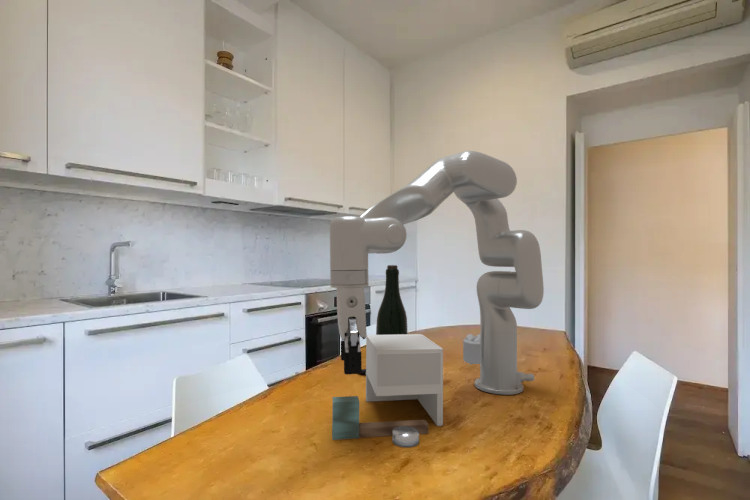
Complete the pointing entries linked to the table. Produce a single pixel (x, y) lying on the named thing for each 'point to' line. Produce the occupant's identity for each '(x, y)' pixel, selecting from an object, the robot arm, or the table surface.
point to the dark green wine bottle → (391, 307)
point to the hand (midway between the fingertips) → (350, 366)
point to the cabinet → (405, 371)
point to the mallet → (350, 428)
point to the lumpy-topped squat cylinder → (471, 349)
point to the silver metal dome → (405, 436)
